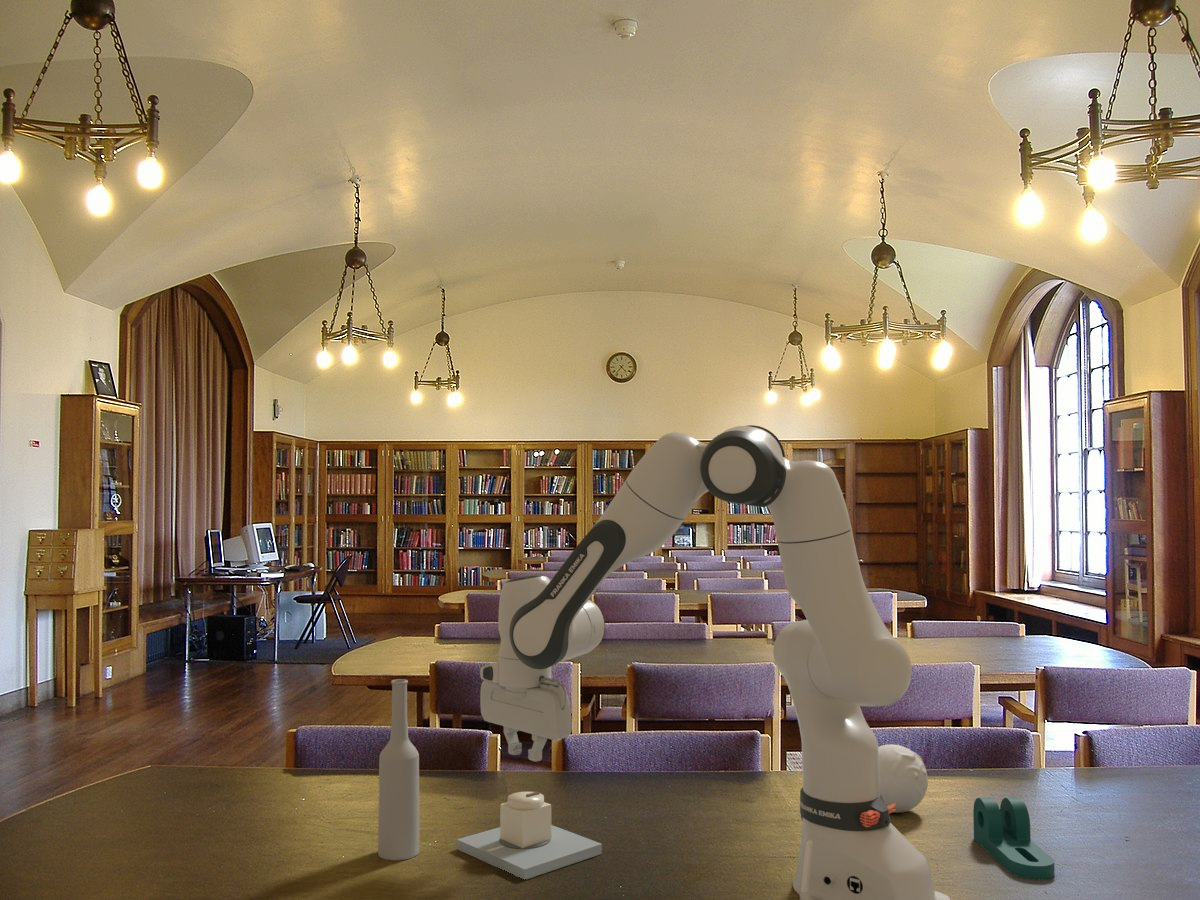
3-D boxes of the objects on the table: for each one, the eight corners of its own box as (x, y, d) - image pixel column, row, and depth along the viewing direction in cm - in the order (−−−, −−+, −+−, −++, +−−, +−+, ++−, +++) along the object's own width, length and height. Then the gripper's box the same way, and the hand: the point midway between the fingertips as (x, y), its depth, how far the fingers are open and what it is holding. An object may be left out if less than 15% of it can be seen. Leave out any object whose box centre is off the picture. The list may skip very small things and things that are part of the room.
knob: (522, 848, 159) (522, 803, 160) (500, 838, 164) (500, 794, 164) (551, 839, 163) (551, 795, 164) (528, 830, 168) (528, 787, 168)
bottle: (370, 853, 162) (371, 680, 163) (404, 843, 167) (405, 675, 168) (392, 864, 157) (393, 686, 159) (427, 853, 162) (427, 680, 163)
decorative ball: (903, 826, 174) (902, 757, 175) (847, 809, 183) (846, 744, 184) (941, 812, 182) (940, 746, 182) (885, 797, 191) (884, 734, 192)
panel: (601, 853, 161) (601, 812, 162) (524, 880, 151) (524, 835, 151) (532, 826, 175) (532, 788, 175) (456, 849, 164) (457, 808, 164)
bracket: (973, 839, 168) (973, 792, 168) (1013, 839, 168) (1012, 792, 168) (1017, 881, 150) (1016, 828, 150) (1062, 881, 150) (1061, 828, 150)
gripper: (580, 678, 159) (580, 766, 159) (503, 663, 174) (503, 742, 174) (550, 684, 155) (550, 773, 154) (473, 667, 170) (473, 749, 169)
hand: (524, 757), depth 164 cm, fingers open, 4 cm apart
